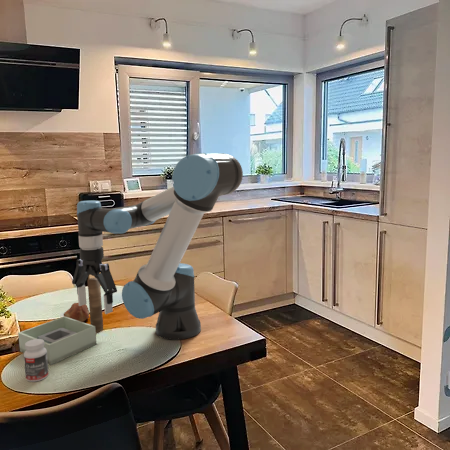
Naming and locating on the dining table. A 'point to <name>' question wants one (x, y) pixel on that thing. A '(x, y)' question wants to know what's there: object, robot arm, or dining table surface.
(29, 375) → the pill bottle
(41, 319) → the dining table surface
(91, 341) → the bin
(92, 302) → the peg
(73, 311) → the fossil
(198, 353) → the dining table surface
